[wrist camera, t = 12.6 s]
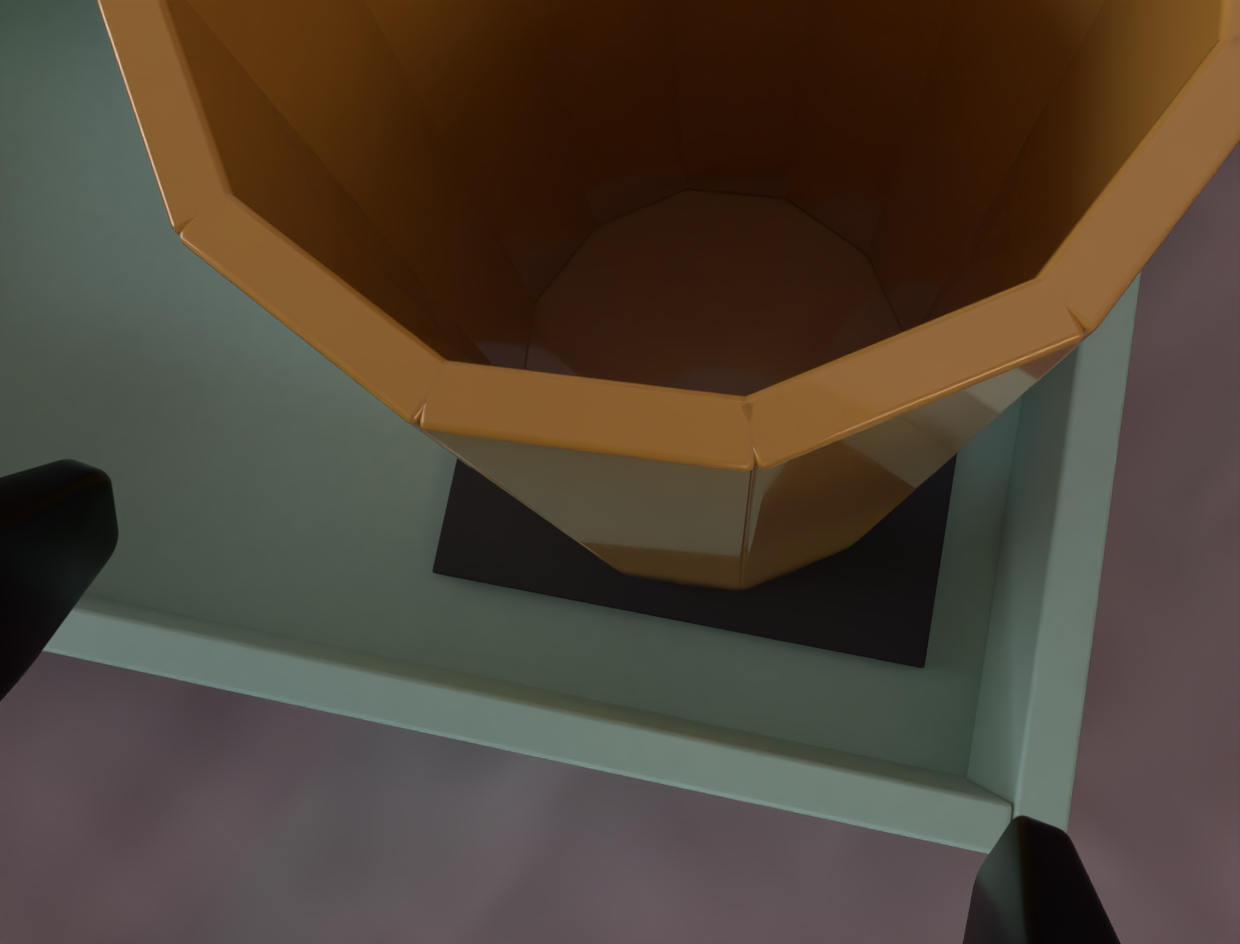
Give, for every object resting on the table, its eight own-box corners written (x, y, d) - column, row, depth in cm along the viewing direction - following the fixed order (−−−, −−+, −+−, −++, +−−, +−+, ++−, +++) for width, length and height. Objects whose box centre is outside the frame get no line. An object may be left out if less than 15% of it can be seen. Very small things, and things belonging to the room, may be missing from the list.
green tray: (1100, 98, 19) (1182, -25, 15) (997, 827, 17) (1063, 871, 14) (-14, -42, 22) (-155, -173, 18) (-200, 573, 20) (-394, 558, 16)
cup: (899, 616, 17) (1272, 538, 5) (477, 556, 18) (-17, 373, 6) (944, 206, 18) (1341, -635, 6) (542, 167, 19) (227, -638, 7)
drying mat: (994, 192, 18) (999, 185, 18) (921, 668, 17) (924, 667, 17) (533, 129, 19) (529, 121, 19) (435, 573, 18) (431, 572, 18)
